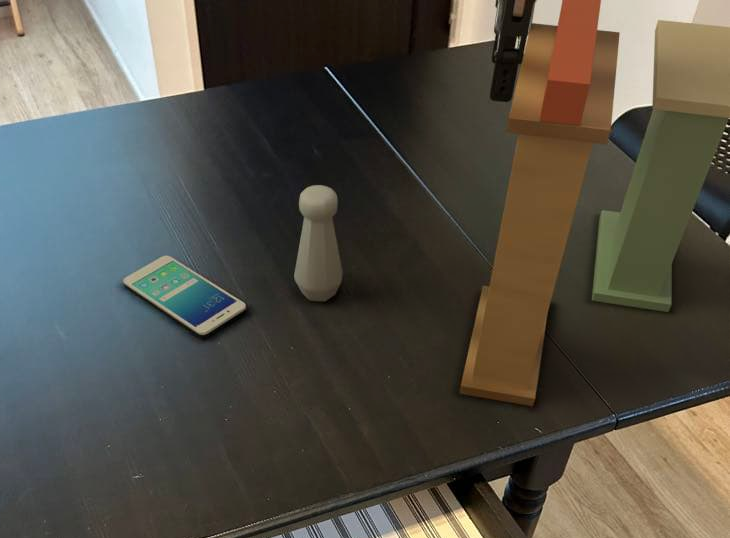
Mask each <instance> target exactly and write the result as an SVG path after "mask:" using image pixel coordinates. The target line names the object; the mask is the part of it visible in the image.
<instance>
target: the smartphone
mask: <svg viewBox="0 0 730 538" xmlns="http://www.w3.org/2000/svg"><path fill="white" fill-rule="evenodd" d="M122 284H123V286H124V288H125V289H126V290H128V291H129V292H131V293H132V294H134V295H136V296H137V297H138V298H139V299H141V300H143V301H144V302H145V303H147V304H149V305H150V306H151V307H153V308H155V309H156V310H158V311H159V312H161V313H162V314H163V315H165V316H166V317H168V318H169V319H171V320H172V321H174V322H175V323H176V324H178V325H180V326H181V327H183V328H184V329H186V331H187V330H188V331H189V332H191V333H192V334H193V335H195V336H196V337H197V338H199V339H207V338H208V337H210V336H211V335H213V334H215V333H216V332H218V331H219V330H221V329H222V328H224V327H226V326H227V325H228V324H230V323H232V322H234V321H235V320H236V319H238V318H240V317H241V316H243V315H244V314H245V313H246V312H247V305H246V303H245V302H244V301H242V300H240V299H239V298H238V297H235V296H234V295H232V294H231V293H229V292H228V291H227V290H225V289H223V288H221V287H220V286H218V285H217V284H215V283H213V282H211V281H210V280H209V279H207V278H206V277H203V276H202V275H200V274H199V273H198V272H196V271H194V270H193V269H191V268H190V267H188V266H187V265H185V264H183V263H181V261H179V260H177V259H175V258H174V257H173V256H171V255H162V256H161V257H159V258H157V259H156V260H154V261H152V262H150V263H148V264H146V265H145V266H143V267H141V268H140V269H138V270H136V271H133V273H131V274H129V275H127V276H126V277H125V278H123V280H122Z"/></svg>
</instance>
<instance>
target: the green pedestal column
mask: <svg viewBox="0 0 730 538" xmlns="http://www.w3.org/2000/svg"><path fill="white" fill-rule="evenodd" d="M653 44H654V46H653V72H652V73H653V76H652V77H653V79H652V106H651V108H652V111H651V115H650V118H649V120H648V123H647V128H646V129H645V130H646V131H645V133H644V136H643V140H642V143H641V146H640V149H639V152H638V156H637V159H636V162H635V164H634V165H635V166H634V168H633V172H632V174H631V178H630V181H629V184H628V187H627V191H626V193H625V197H624V199H623V203H622V206H621V210H620V211H619V212H618V211H612V210H606V209H605V210H604V209H602V210H600V211H601V212H600V215H599V219H598V220H599V221H598V230H597V241H596V251H595V252H596V253H595V262H594V271H593V272H594V273H593V281H592V292H591V293H592V294H591V301H592V302H598V303H604V304H611V305H619V306H624V307H625V306H626V307H631V308H637V309H644V310H650V311H656V312H664V313H669V312H670V309H671V307H672V304H673V303H672V302H673V301H672V296H673V295H672V292H673V291H672V290H673V289H672V285H673V282H672V281H673V280H672V278H673V277H672V275H673V274H672V271H673V270H672V269H673V268H672V267H673V266H672V265H673V262H674V259H675V256H676V254H677V252H678V249H679V247H680V244H681V241H682V239H683V236H684V234H685V232H686V229H687V226H688V224H689V221H690V218H691V216H692V213H693V211H694V208H695V206H696V203H697V201H698V197H699V196H700V194H701V190H702V188H703V185H704V183H705V181H706V178H707V176H708V172H709V170H710V168H711V165H712V164H713V163H712V162H713V160H714V158H715V155H716V153H717V150H718V147H719V145H720V142H721V140H722V137H723V135H724V132H725V129H726V127H727V125H728V122H729V120H730V26H721V25H713V24H703V23H694V22H693V23H691V22H683V21H674V20H673V21H672V20H665V19H664V20H663V19H658V20H657V23H656V26H655V29H654V43H653Z"/></svg>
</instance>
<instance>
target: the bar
mask: <svg viewBox="0 0 730 538" xmlns="http://www.w3.org/2000/svg"><path fill="white" fill-rule="evenodd" d="M601 3H602V0H561V6H560V10H559V18H558V22H557V25H556V26H557V31H556V36H555V42H554V47H553V52H552V57H551V62H550V67H549V72H548V77H547V83H546V88H545V93H544V98H543V103H542V108H541V113H540V119H539V121H544V122H552V123H561V124H569V125H577V126H580V123H581V119H582V115H583V111H584V107H585V103H586V99H587V95H588V91H589V87H590V82H591V75H592V67H593V59H594V51H595V44H596V36H597V30H598V28H599V27H598V26H599V20H600V13H601V12H600V11H601Z"/></svg>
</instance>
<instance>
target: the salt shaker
mask: <svg viewBox="0 0 730 538" xmlns="http://www.w3.org/2000/svg"><path fill="white" fill-rule="evenodd" d="M338 202H339V200H338V195H337V193H336V192H335V190H334V189H333V188H331V187H329V186H327V185H323V184H314V185H311V186H308V187H305V189H304V190H303V191H302V192H300V194H299V201H298V207H299V208H298V209H299V212H300V213H301V215H302V216H303V222H302V227H301V228H302V229H301V234H300V238H299V239H300V240H299V246H298V250H297V251H298V252H297V256H296V263H295V267H294V276H293V278H294V282H295V283H296V285H297V287H298V288H299V290H300V292H301V294H302V295H303V296H304V297H306V298H307V299H308V300H309V301H311V302H326V301H328V300H329V299H331V298H333V297H334V296H335V295H336V294H337V292H338V290H339V288H340V285H341V284H342V280H343V267H342V261H341V257H340V250H339V246H338V241H337V236H336V230H335V226H334V220H333V217H334V216H335V215H336V214H337V212H338V204H339V203H338Z"/></svg>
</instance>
